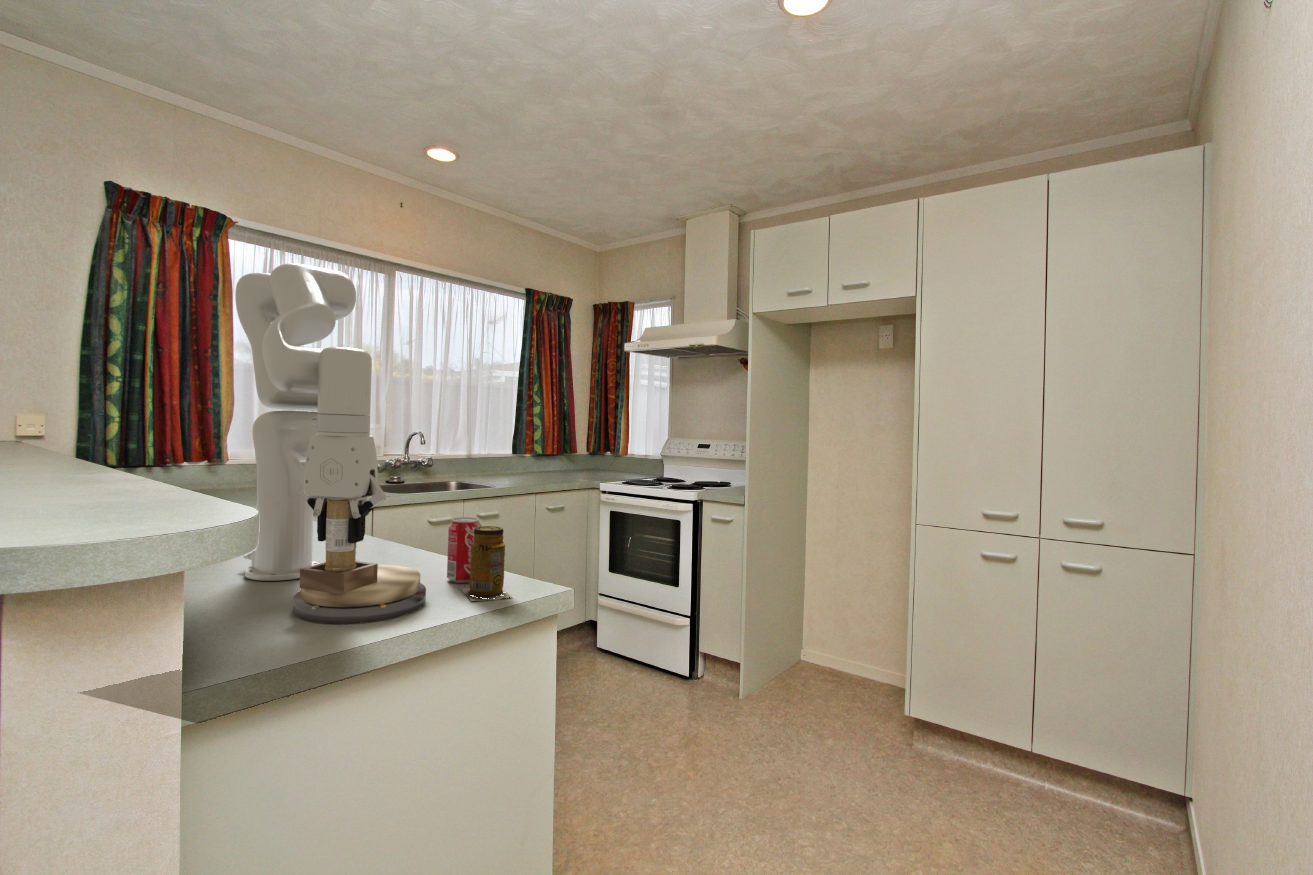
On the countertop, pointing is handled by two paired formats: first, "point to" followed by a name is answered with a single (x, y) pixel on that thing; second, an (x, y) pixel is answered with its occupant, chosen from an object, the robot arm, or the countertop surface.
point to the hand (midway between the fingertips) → (341, 539)
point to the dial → (358, 585)
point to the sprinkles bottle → (339, 537)
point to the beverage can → (460, 548)
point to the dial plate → (358, 610)
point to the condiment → (487, 564)
